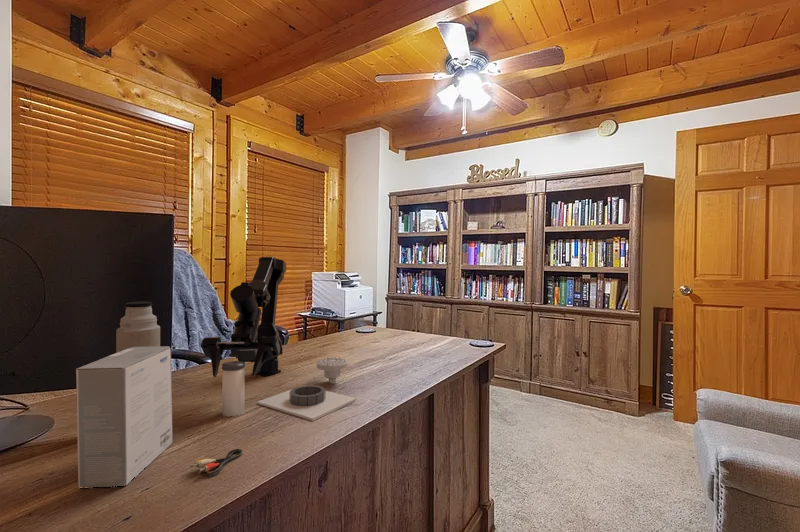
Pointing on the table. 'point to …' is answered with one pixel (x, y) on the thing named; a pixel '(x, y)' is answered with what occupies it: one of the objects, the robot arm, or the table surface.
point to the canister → (233, 388)
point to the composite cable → (215, 463)
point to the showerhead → (332, 367)
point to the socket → (307, 402)
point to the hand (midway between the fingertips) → (233, 376)
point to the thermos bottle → (137, 327)
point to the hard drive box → (123, 415)
